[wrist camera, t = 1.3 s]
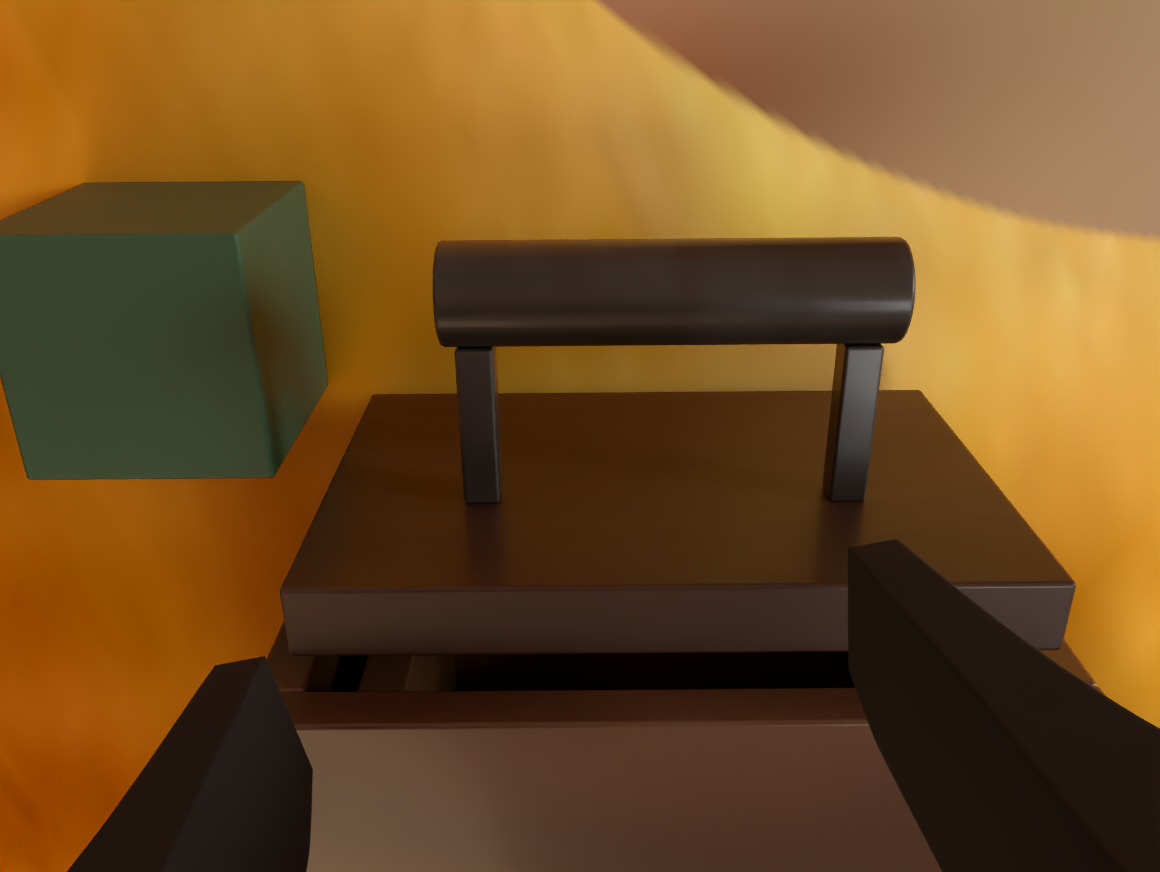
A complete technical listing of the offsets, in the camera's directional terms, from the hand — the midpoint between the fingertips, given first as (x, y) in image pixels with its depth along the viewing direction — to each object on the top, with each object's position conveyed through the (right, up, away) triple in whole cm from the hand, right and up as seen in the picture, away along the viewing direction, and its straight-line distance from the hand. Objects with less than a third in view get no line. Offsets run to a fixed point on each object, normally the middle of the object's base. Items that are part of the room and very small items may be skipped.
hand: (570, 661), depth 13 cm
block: (-8, +6, +9) cm, 13 cm away
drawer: (+2, 0, +10) cm, 11 cm away
